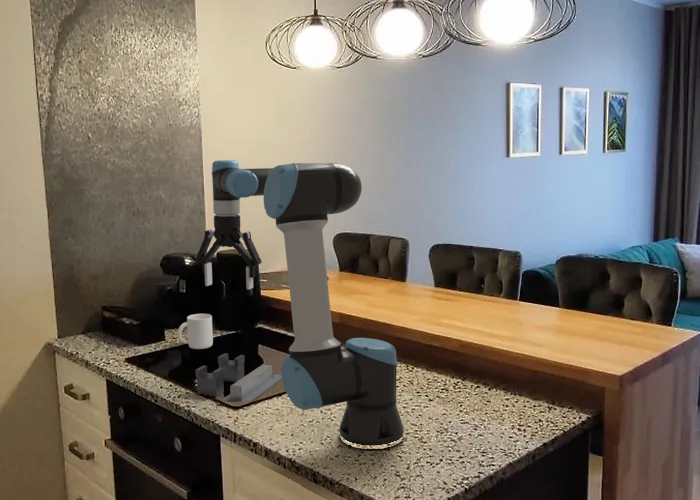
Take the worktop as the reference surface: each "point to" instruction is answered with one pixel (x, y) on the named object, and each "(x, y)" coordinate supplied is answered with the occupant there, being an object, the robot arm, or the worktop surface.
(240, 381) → the rail
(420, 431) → the worktop surface
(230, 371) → the post
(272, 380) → the mat
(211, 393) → the post
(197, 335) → the mug
